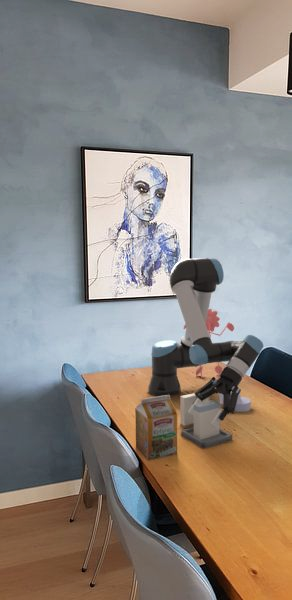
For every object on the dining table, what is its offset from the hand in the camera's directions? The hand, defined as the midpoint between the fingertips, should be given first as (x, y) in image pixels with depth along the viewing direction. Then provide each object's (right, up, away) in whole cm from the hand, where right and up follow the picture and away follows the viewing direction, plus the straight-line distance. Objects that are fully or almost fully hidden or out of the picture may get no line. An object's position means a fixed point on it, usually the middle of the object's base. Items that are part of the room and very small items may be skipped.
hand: (201, 420), depth 168 cm
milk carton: (-16, -9, -8) cm, 20 cm away
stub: (+2, -6, +2) cm, 7 cm away
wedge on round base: (+18, -3, +32) cm, 37 cm away
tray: (+2, -7, +2) cm, 7 cm away
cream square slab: (-1, -5, +14) cm, 15 cm away
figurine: (+13, +4, +80) cm, 81 cm away
